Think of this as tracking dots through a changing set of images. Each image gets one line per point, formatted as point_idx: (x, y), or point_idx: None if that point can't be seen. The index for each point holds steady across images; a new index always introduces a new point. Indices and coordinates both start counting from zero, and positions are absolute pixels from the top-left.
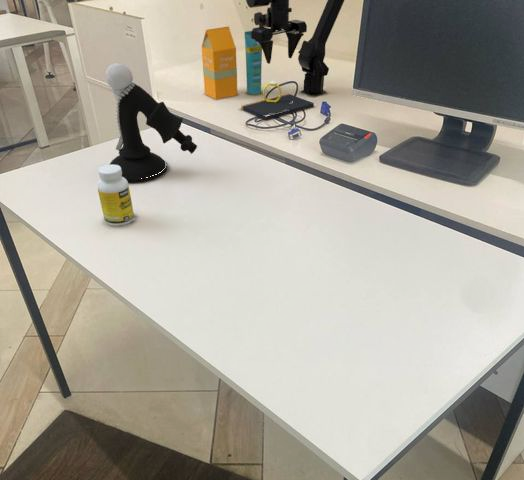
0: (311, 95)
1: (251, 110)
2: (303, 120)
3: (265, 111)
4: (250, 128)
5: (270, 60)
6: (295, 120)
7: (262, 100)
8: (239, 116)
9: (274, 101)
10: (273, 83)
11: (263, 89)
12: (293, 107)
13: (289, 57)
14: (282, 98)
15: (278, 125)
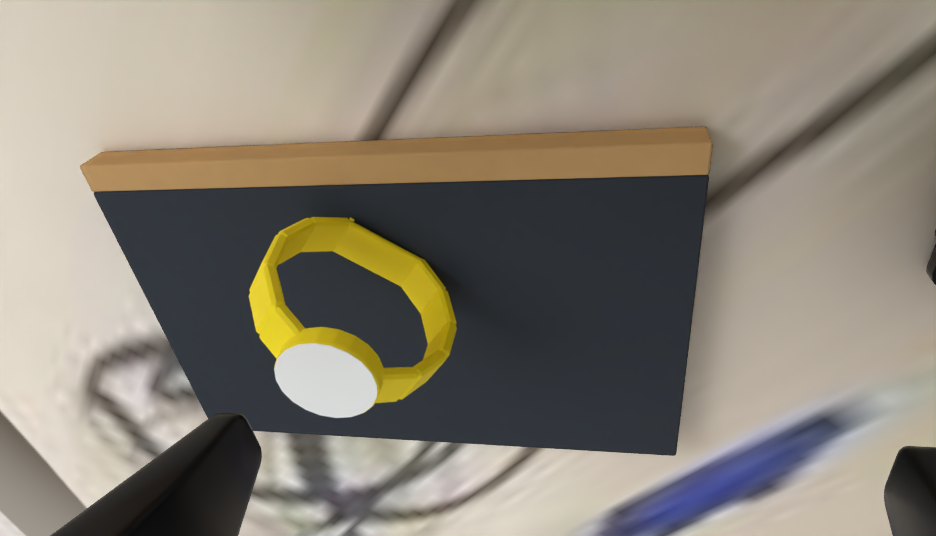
0: (930, 262)
1: (146, 296)
2: (433, 517)
3: (237, 374)
4: (101, 433)
5: (235, 524)
6: (391, 495)
7: (320, 167)
8: (64, 265)
9: (395, 281)
10: (320, 408)
11: (256, 282)
12: (469, 429)
13: (895, 482)
14: (532, 238)
15: (265, 485)
